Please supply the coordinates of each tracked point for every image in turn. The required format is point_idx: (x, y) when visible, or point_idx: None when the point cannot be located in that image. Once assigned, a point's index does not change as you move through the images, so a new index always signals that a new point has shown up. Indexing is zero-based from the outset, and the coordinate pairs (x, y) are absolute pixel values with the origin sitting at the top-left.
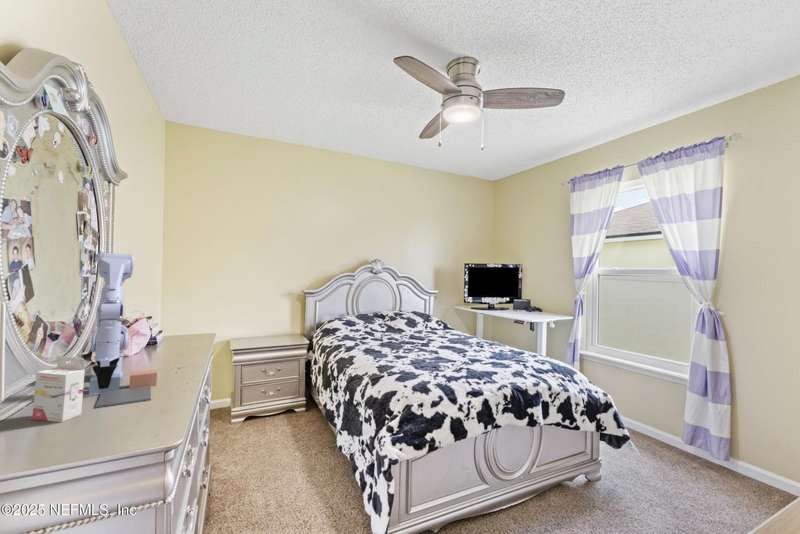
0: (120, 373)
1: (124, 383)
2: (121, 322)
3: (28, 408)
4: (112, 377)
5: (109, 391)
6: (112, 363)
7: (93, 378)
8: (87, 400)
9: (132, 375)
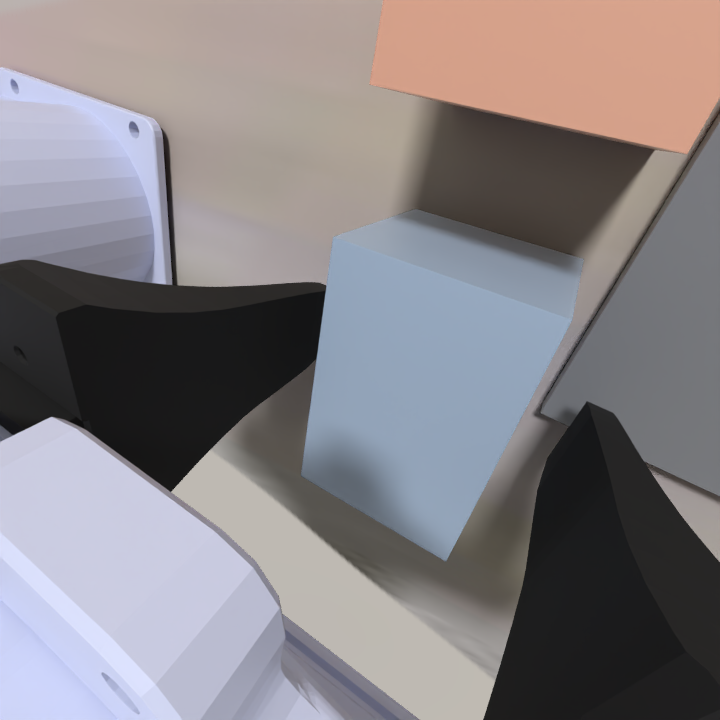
0: (73, 115)
1: (315, 130)
2: None
3: None
4: (520, 404)
5: (620, 377)
6: (155, 370)
7: (397, 513)
8: None
9: (713, 96)
